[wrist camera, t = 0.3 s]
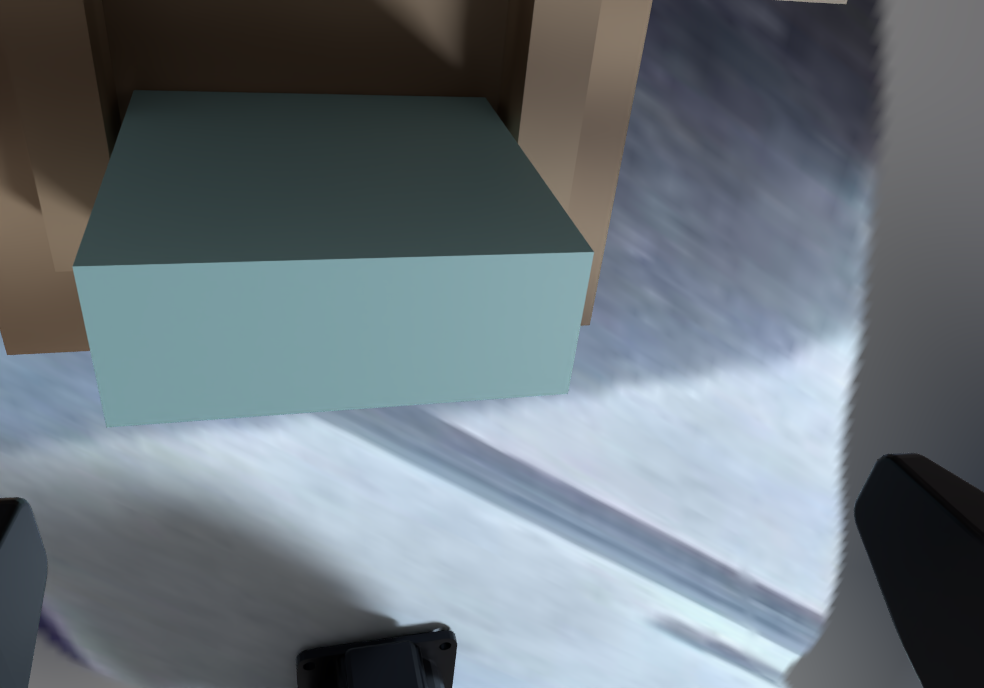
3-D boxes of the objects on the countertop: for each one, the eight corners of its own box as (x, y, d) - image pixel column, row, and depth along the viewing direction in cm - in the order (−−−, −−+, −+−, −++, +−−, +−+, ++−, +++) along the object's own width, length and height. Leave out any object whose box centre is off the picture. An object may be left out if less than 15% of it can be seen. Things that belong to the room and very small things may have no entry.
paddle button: (475, 209, 22) (567, 394, 15) (152, 214, 20) (106, 427, 14) (485, 97, 20) (593, 251, 14) (133, 90, 18) (72, 266, 12)
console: (574, 299, 26) (733, 562, 18) (20, 323, 22) (-123, 675, 14) (668, -231, 19) (1031, -223, 10) (-155, -339, 15) (-733, -480, 6)
